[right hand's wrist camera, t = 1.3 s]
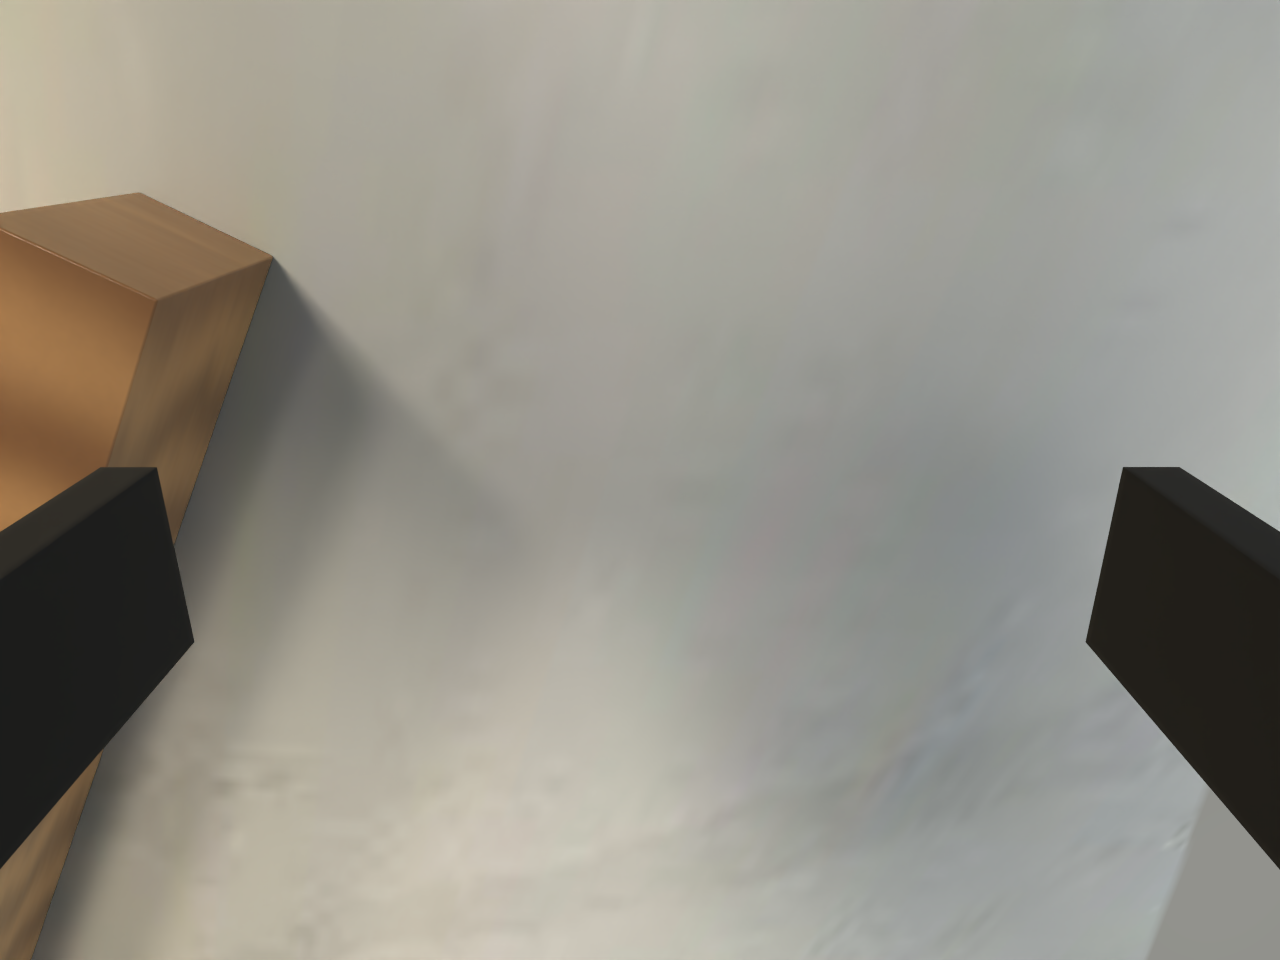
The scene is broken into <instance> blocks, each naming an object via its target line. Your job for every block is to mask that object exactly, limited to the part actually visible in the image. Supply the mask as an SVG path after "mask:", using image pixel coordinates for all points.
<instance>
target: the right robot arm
mask: <svg viewBox="0 0 1280 960" xmlns="http://www.w3.org/2000/svg"><path fill="white" fill-rule="evenodd" d="M193 643H194V638H193V634H192V629H191V624H190V620H189V615H188V610H187V606H186V601H185V596H184V591H183V587H182V582H181V577H180V573H179V568H178V563H177V559H176V554H175V549H174V545H173V540H172V535H171V531H170V526H169V521H168V517H167V512H166V507H165V503H164V498H163V493H162V489H161V484H160V479H159V475H158V470H157V467H100V468H99V469H97V470H95V471H94V472H92V473H91V474H89V475H88V476H86V477H85V478H83V479H81V480H80V481H78V482H77V483H75V484H74V485H72V486H71V487H69V488H67V489H66V490H64V491H63V492H61V493H60V494H58V495H57V496H55V497H53V498H52V499H50V500H49V501H47V502H46V503H44V504H43V505H41V506H39V507H38V508H36V509H35V510H33V511H32V512H30V513H29V514H27V515H26V516H24V517H22V518H21V519H19V520H18V521H16V522H15V523H13V524H12V525H10V526H8V527H7V528H5V529H4V530H2V531H1V532H0V869H1V868H2V867H3V866H4V864H5V863H6V862H7V861H8V860H9V859H10V857H11V856H12V855H13V854H14V853H15V851H16V850H17V849H18V848H19V847H20V846H21V844H22V843H23V842H24V841H25V840H26V839H27V837H28V836H29V835H30V834H31V833H32V832H33V830H34V829H35V828H36V827H37V826H38V825H39V823H40V822H41V821H42V820H43V819H44V818H45V816H46V815H47V814H48V813H49V812H50V810H51V809H52V808H53V807H54V806H55V805H56V803H57V802H58V801H59V800H60V799H61V798H62V796H63V795H64V794H65V793H66V792H67V791H68V789H69V788H70V787H71V786H72V785H73V784H74V782H75V781H76V780H77V779H78V778H79V776H80V775H81V774H82V773H83V772H84V771H85V769H86V768H87V767H88V766H89V765H90V764H91V762H92V761H93V760H94V759H95V758H96V757H97V755H98V754H99V753H100V752H101V751H102V750H103V748H104V747H105V746H106V745H107V744H108V743H109V741H110V740H111V739H112V738H113V737H114V735H115V734H116V733H117V732H118V731H119V730H120V728H121V727H122V726H123V725H124V724H125V723H126V721H127V720H128V719H129V718H130V717H131V716H132V714H133V713H134V712H135V711H136V710H137V709H138V707H139V706H140V705H141V704H142V703H143V702H144V700H145V699H146V698H147V697H148V696H149V694H150V693H151V692H152V691H153V690H154V689H155V687H156V686H157V685H158V684H159V683H160V682H161V680H162V679H163V678H164V677H165V676H166V675H167V673H168V672H169V671H170V670H171V669H172V668H173V666H174V665H175V664H176V663H177V662H178V661H179V659H180V658H181V657H182V656H183V655H184V653H185V652H186V651H187V650H188V649H189V648H190V646H191V645H192V644H193ZM1086 643H1087V644H1088V645H1089V646H1090V648H1091V649H1092V650H1093V651H1094V652H1095V653H1096V655H1097V656H1098V657H1099V658H1100V659H1101V661H1102V662H1103V663H1104V664H1105V665H1106V666H1107V668H1108V669H1109V670H1110V671H1111V672H1112V673H1113V675H1114V676H1115V677H1116V678H1117V679H1118V680H1119V682H1120V683H1121V684H1122V685H1123V686H1124V687H1125V689H1126V690H1127V691H1128V692H1129V693H1130V694H1131V696H1132V697H1133V698H1134V699H1135V700H1136V702H1137V703H1138V704H1139V705H1140V706H1141V707H1142V709H1143V710H1144V711H1145V712H1146V713H1147V714H1148V716H1149V717H1150V718H1151V719H1152V720H1153V721H1154V723H1155V724H1156V725H1157V726H1158V727H1159V728H1160V730H1161V731H1162V732H1163V733H1164V734H1165V735H1166V737H1167V738H1168V739H1169V740H1170V741H1171V743H1172V744H1173V745H1174V746H1175V747H1176V748H1177V750H1178V751H1179V752H1180V753H1181V754H1182V755H1183V757H1184V758H1185V759H1186V760H1187V761H1188V762H1189V764H1190V765H1191V766H1192V767H1193V768H1194V769H1195V771H1196V772H1197V773H1198V774H1199V775H1200V777H1201V778H1202V779H1203V780H1204V781H1205V782H1206V784H1207V785H1208V786H1209V787H1210V788H1211V789H1212V791H1213V792H1214V793H1215V794H1216V795H1217V796H1218V798H1219V799H1220V800H1221V801H1222V802H1223V803H1224V805H1225V806H1226V807H1227V808H1228V809H1229V810H1230V812H1231V813H1232V814H1233V815H1234V816H1235V818H1236V819H1237V820H1238V821H1239V822H1240V823H1241V825H1242V826H1243V827H1244V828H1245V829H1246V830H1247V832H1248V833H1249V834H1250V835H1251V836H1252V837H1253V839H1254V840H1255V841H1256V842H1257V843H1258V844H1259V846H1260V847H1261V848H1262V849H1263V850H1264V851H1265V853H1266V854H1267V855H1268V856H1269V857H1270V859H1271V860H1272V861H1273V862H1274V863H1275V864H1276V866H1277V867H1278V868H1279V869H1280V532H1279V531H1278V530H1276V529H1275V528H1273V527H1272V526H1270V525H1268V524H1267V523H1265V522H1264V521H1262V520H1261V519H1259V518H1258V517H1256V516H1254V515H1253V514H1251V513H1250V512H1248V511H1247V510H1245V509H1244V508H1242V507H1241V506H1239V505H1237V504H1236V503H1234V502H1233V501H1231V500H1230V499H1228V498H1227V497H1225V496H1223V495H1222V494H1220V493H1219V492H1217V491H1216V490H1214V489H1213V488H1211V487H1209V486H1208V485H1206V484H1205V483H1203V482H1202V481H1200V480H1199V479H1197V478H1195V477H1194V476H1192V475H1191V474H1189V473H1188V472H1186V471H1185V470H1183V469H1181V468H1180V467H1123V470H1122V474H1121V479H1120V484H1119V489H1118V493H1117V498H1116V503H1115V507H1114V512H1113V517H1112V521H1111V526H1110V531H1109V535H1108V540H1107V545H1106V549H1105V554H1104V559H1103V563H1102V568H1101V573H1100V577H1099V582H1098V587H1097V591H1096V596H1095V601H1094V606H1093V610H1092V615H1091V620H1090V624H1089V629H1088V634H1087V638H1086Z"/></svg>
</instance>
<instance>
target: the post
mask: <svg viewBox="0 0 1280 960" xmlns="http://www.w3.org/2000/svg"><path fill="white" fill-rule="evenodd" d="M272 259H273V257H272V256H271V255H269V254H267V253H265V252H263V251H261V250H259V249H256V248H254V247H252V246H250V245H248V244H246V243H244V242H242V241H240V240H238V239H236V238H233V237H231V236H229V235H227V234H225V233H223V232H221V231H219V230H217V229H215V228H212V227H210V226H208V225H206V224H204V223H202V222H200V221H198V220H196V219H194V218H192V217H189V216H187V215H185V214H183V213H181V212H179V211H177V210H175V209H173V208H171V207H168V206H166V205H164V204H162V203H160V202H158V201H156V200H154V199H152V198H150V197H148V196H145V195H143V194H141V193H132V194H125V195H118V196H111V197H105V198H98V199H91V200H84V201H78V202H71V203H64V204H57V205H51V206H44V207H37V208H30V209H24V210H17V211H10V212H4V213H0V532H1V531H2V530H4V529H5V528H7V527H8V526H10V525H12V524H13V523H15V522H16V521H18V520H19V519H21V518H22V517H24V516H26V515H27V514H29V513H30V512H32V511H33V510H35V509H36V508H38V507H39V506H41V505H43V504H44V503H46V502H47V501H49V500H50V499H52V498H53V497H55V496H57V495H58V494H60V493H61V492H63V491H64V490H66V489H67V488H69V487H71V486H72V485H74V484H75V483H77V482H78V481H80V480H81V479H83V478H85V477H86V476H88V475H89V474H91V473H92V472H94V471H95V470H97V469H99V468H100V467H157V470H158V475H159V479H160V484H161V489H162V493H163V498H164V503H165V507H166V512H167V517H168V521H169V526H170V531H171V535H172V540H173V545H174V543H175V540H176V537H177V534H178V531H179V529H180V526H181V523H182V520H183V517H184V514H185V511H186V508H187V505H188V502H189V500H190V497H191V494H192V491H193V488H194V485H195V482H196V479H197V476H198V473H199V471H200V468H201V465H202V462H203V459H204V456H205V453H206V450H207V447H208V444H209V441H210V439H211V436H212V433H213V430H214V427H215V424H216V421H217V418H218V415H219V412H220V410H221V407H222V404H223V401H224V398H225V395H226V392H227V389H228V386H229V383H230V381H231V378H232V375H233V372H234V369H235V366H236V363H237V360H238V357H239V354H240V351H241V349H242V346H243V343H244V340H245V337H246V334H247V331H248V328H249V325H250V322H251V320H252V317H253V314H254V311H255V308H256V305H257V302H258V299H259V296H260V293H261V291H262V288H263V285H264V282H265V279H266V276H267V273H268V270H269V267H270V264H271V262H272ZM103 749H104V748H103ZM102 752H103V750H102V751H101V752H100V753H99V754H98V755H97V757H96V758H95V759H94V760H93V761H92V762H91V764H90V765H89V766H88V767H87V768H86V769H85V771H84V772H83V773H82V774H81V775H80V776H79V778H78V779H77V780H76V781H75V782H74V784H73V785H72V786H71V787H70V788H69V789H68V791H67V792H66V793H65V794H64V795H63V796H62V798H61V799H60V800H59V801H58V802H57V803H56V805H55V806H54V807H53V808H52V809H51V810H50V812H49V813H48V814H47V815H46V816H45V818H44V819H43V820H42V821H41V822H40V823H39V825H38V826H37V827H36V828H35V829H34V830H33V832H32V833H31V834H30V835H29V836H28V837H27V839H26V840H25V841H24V842H23V843H22V844H21V846H20V847H19V848H18V849H17V850H16V851H15V853H14V854H13V855H12V856H11V857H10V859H9V860H8V861H7V862H6V863H5V864H4V866H3V867H2V868H1V869H0V960H31V958H32V955H33V952H34V949H35V947H36V944H37V941H38V938H39V935H40V932H41V929H42V926H43V923H44V920H45V918H46V915H47V912H48V909H49V906H50V903H51V900H52V897H53V894H54V891H55V888H56V886H57V883H58V880H59V877H60V874H61V871H62V868H63V865H64V862H65V859H66V857H67V854H68V851H69V848H70V845H71V842H72V839H73V836H74V833H75V830H76V828H77V825H78V822H79V819H80V816H81V813H82V810H83V807H84V804H85V801H86V798H87V796H88V793H89V790H90V787H91V784H92V781H93V778H94V775H95V772H96V769H97V767H98V764H99V761H100V758H101V755H102Z"/></svg>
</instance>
